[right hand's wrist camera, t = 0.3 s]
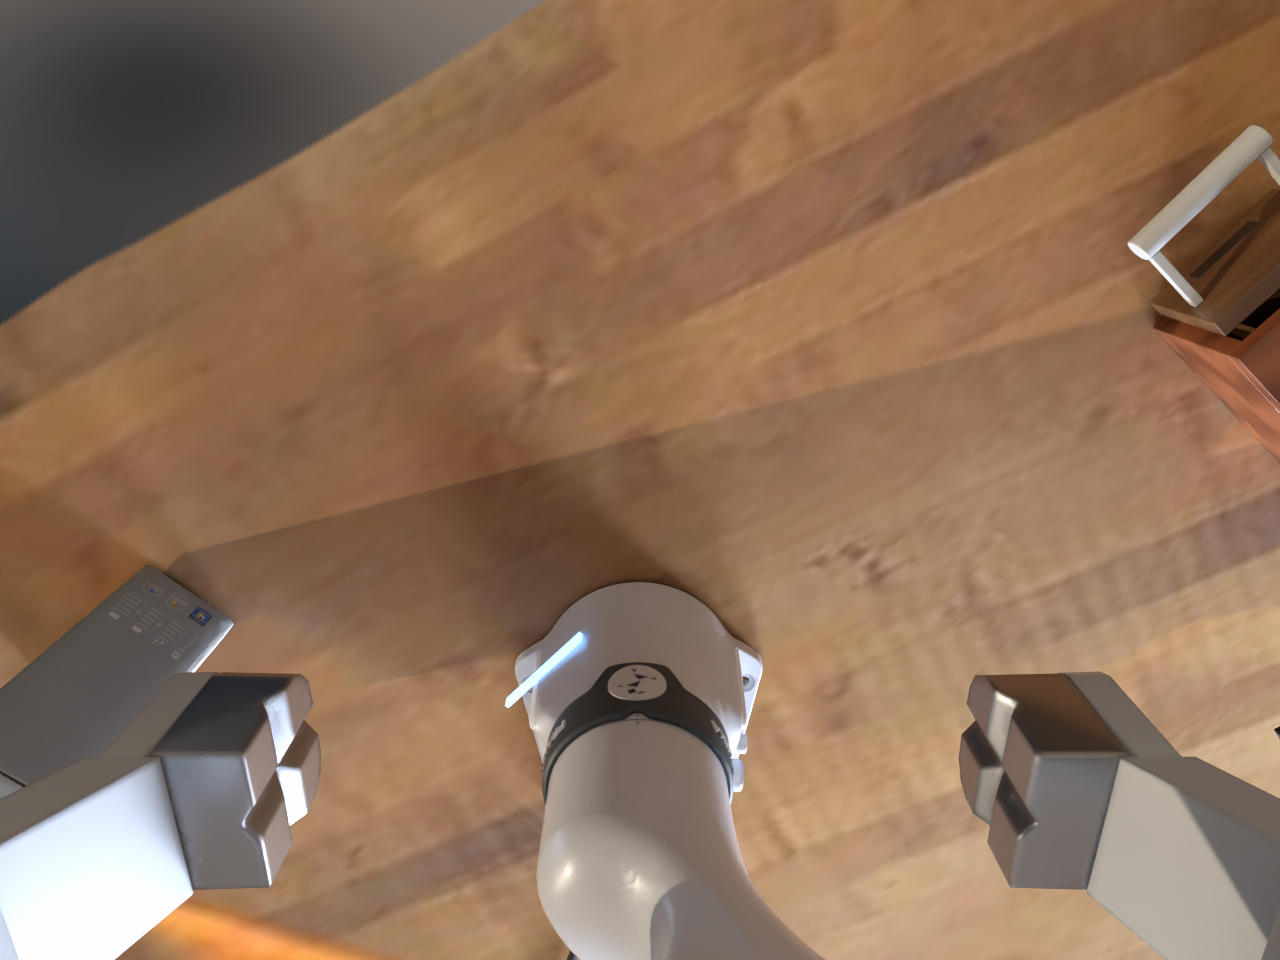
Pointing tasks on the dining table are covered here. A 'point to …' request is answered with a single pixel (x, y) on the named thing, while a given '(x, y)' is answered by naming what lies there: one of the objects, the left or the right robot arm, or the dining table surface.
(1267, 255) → the drawer
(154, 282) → the dining table surface
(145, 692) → the hard drive box
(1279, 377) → the cabinet
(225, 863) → the right robot arm
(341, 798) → the dining table surface
